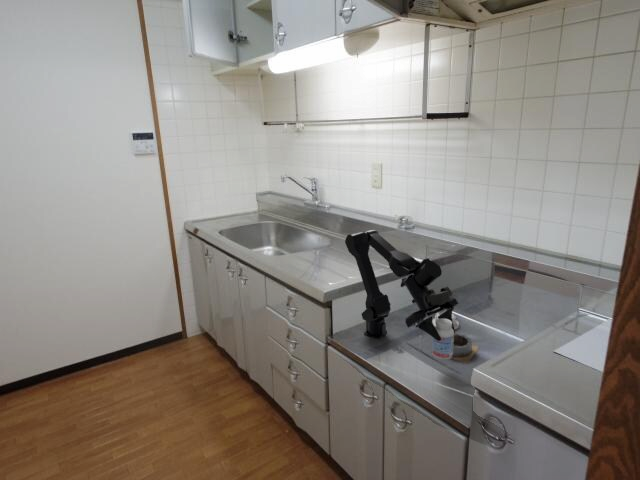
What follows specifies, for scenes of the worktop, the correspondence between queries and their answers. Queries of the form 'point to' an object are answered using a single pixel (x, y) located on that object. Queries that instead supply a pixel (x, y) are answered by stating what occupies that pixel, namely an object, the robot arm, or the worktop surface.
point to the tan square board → (467, 359)
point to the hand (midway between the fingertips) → (447, 337)
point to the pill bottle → (443, 339)
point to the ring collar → (465, 348)
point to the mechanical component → (452, 320)
